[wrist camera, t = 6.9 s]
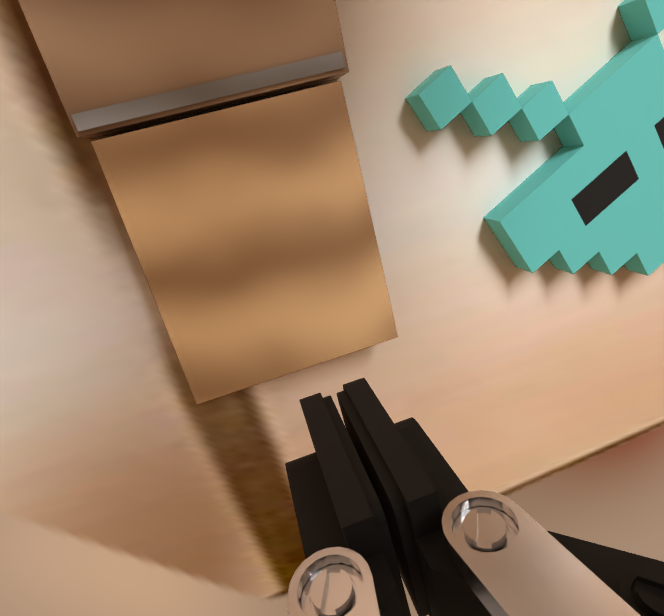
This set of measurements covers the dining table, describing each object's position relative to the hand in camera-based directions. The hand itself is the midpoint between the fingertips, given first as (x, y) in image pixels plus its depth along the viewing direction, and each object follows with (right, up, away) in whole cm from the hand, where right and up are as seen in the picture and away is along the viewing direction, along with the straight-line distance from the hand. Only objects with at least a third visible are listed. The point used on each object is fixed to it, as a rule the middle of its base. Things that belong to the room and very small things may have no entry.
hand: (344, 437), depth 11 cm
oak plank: (-4, +7, +14) cm, 16 cm away
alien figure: (+17, +15, +18) cm, 29 cm away
